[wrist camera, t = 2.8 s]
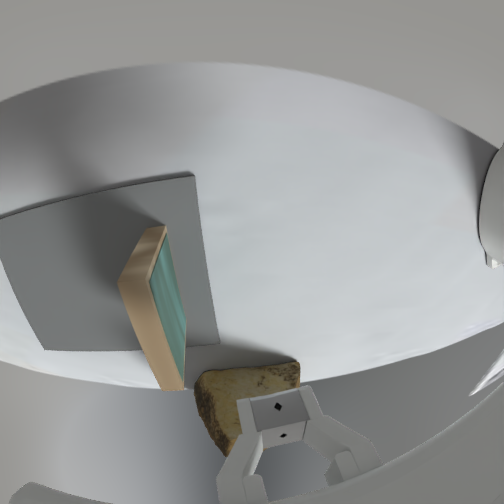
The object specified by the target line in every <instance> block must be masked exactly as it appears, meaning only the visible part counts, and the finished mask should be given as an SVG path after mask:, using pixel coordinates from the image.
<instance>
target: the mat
mask: <svg viewBox="0 0 504 504" xmlns="http://www.w3.org/2000/svg"><path fill="white" fill-rule="evenodd" d="M165 225H166V228H167V233H168V239H169V244H170V249H171V254H172V259H173V264H174V268H175V273H176V278H177V282H178V286H179V291H180V295H181V299H182V303H183V307H184V311H185V315H186V319H187V324H186V342H185V347H192V346H202V345H211V344H220V339H219V334H218V329H217V323H216V318H215V312H214V307H213V301H212V295H211V289H210V283H209V277H208V270H207V264H206V258H205V251H204V244H203V237H202V230H201V222H200V215H199V207H198V199H197V191H196V182H195V175H193V176H185V177H178V178H171V179H165V180H158V181H152V182H146V183H140V184H135V185H129V186H124V187H119V188H114V189H109V190H104V191H100V192H95V193H91V194H86V195H82V196H78V197H74V198H69V199H65V200H62V201H58V202H54V203H50V204H47V205H43V206H39V207H36V208H33V209H29V210H26V211H23V212H19V213H16V214H13V215H10V216H7V217H4V218H1V219H0V259H1V261H2V264H3V267H4V269H5V272H6V274H7V277H8V279H9V282H10V284H11V286H12V289H13V291H14V293H15V295H16V298H17V300H18V302H19V304H20V306H21V308H22V310H23V312H24V314H25V316H26V318H27V320H28V322H29V324H30V326H31V327H32V329H33V331H34V333H35V335H36V336H37V338H38V340H39V341H40V343H41V345H42V346H43V348H44V350H57V351H132V350H142V347H141V345H140V343H139V340H138V338H137V336H136V333H135V331H134V328H133V326H132V323H131V321H130V318H129V315H128V313H127V310H126V307H125V305H124V302H123V299H122V296H121V293H120V290H119V287H118V284H117V281H118V279H119V277H120V275H121V273H122V271H123V269H124V267H125V265H126V264H127V262H128V260H129V258H130V256H131V254H132V252H133V251H134V249H135V247H136V245H137V243H138V242H139V240H140V238H141V236H142V235H143V233H144V231H145V230H146V228H151V227H158V226H165Z"/></svg>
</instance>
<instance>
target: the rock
mask: <svg viewBox="0 0 504 504" xmlns="http://www.w3.org/2000/svg"><path fill="white" fill-rule="evenodd" d="M299 387H300V364H299V362H290V363H285V364H279V365H269V366H262V367H254V368H248V367H247V368H238V369H227V370H222V371H217V370H212V371H207V372H204V373H203V374H202V375H201V376H200V378H199V379H198V381H197V382H196V383H195V387H194V396H195V399H196V404H197V408H198V413H199V416H200V417H201V418H202V420H203V422H204V424H205V427H206V428H207V430H208V433H209V435H210V437H211V438H212V440H214V442H215V445H216V446H217V447H218V448H219V449H220V450H221V451H222V453H223V455H224V456H225V457H228V455H229V453H230V452H231V450H232V448H233V446H234V444H235V442H236V440H237V438H238V436H239V435H241V434H243V433H242V428H241V423H240V418H239V413H238V408H237V401H236V400H239V399H245V398H252V397H258V396H264V395H269V394H273V393H278V392H282V391H286V390H290V389H294V388H299ZM265 449H267V448H264V449H263V451H264V450H265Z"/></svg>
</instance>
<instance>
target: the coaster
mask: <svg viewBox="0 0 504 504" xmlns="http://www.w3.org/2000/svg"><path fill="white" fill-rule="evenodd" d="M117 284H118V287H119V290H120V293H121V296H122V299H123V302H124V305H125V307H126V310H127V313H128V315H129V318H130V321H131V323H132V326H133V328H134V331H135V333H136V336H137V338H138V340H139V343H140V345H141V347H142V350H143V352H144V354H145V356H146V359H147V361H148V363H149V365H150V367H151V369H152V371H153V374H154V376H155V378H156V380H157V382H158V384H159V386H160V388H161V390H162V391H173V390H175V391H176V390H184V366H185V342H186V324H187V319H186V315H185V311H184V307H183V303H182V299H181V295H180V291H179V286H178V282H177V278H176V273H175V268H174V264H173V259H172V254H171V249H170V244H169V239H168V233H167V228H166V225H165V226H158V227H151V228H146V230H145V231H144V233H143V235H142V236H141V238H140V240H139V242H138V243H137V245H136V247H135V249H134V251H133V252H132V254H131V256H130V258H129V260H128V262H127V264H126V265H125V267H124V269H123V271H122V273H121V275H120V277H119V279H118V281H117Z"/></svg>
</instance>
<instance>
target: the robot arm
mask: <svg viewBox="0 0 504 504" xmlns="http://www.w3.org/2000/svg"><path fill="white" fill-rule="evenodd" d="M479 232H480V239H481V243H482V246H483V248H484V249H485V251H486V254H487V266H488V267H489V268H491V269H495V268H497V267H498V266H499V265H503V266H504V143H503V146H502V147H501V148H500V150H499V151H498V152H497V153H496V155H495V157H494V158H493V160H492V163H491V165H490V167H489V170H488V173H487V176H486V180H485V184H484V188H483V193H482V198H481V205H480V215H479ZM236 401H237V408H238V413H239V418H240V423H241V428H242V433H243V434H241V435H239V436H238V438H237V440H236V442H235V444H234V446H233V448H232V450H231V452H230V453H229V455H228V457H227V459H226V461H225V463H224V465H223V467H222V469H221V470H220V472H219V474H218V476H217V478H216V483H217V489H218V496H219V502H220V504H504V382H502V383H501V384H500V385H499V386H498V387H497V388H496V389H495V390H494V391H493V392H492V393H491V394H489V395H488V396H487V397H486V398H485V399H484V400H483V401H481V402H480V403H479V404H478V405H477V406H475V407H474V408H473V409H472V410H471V411H469V412H468V413H467V414H465V415H464V416H463V417H461V418H460V419H459V420H457V421H456V422H455V423H453V424H452V425H451V426H449V427H448V428H446V429H445V430H443V431H442V432H440V433H439V434H437V435H436V436H434V437H433V438H431V439H429V440H428V441H426V442H425V443H423V444H421V445H419V446H418V447H416V448H414V449H413V450H411V451H409V452H407V453H405V454H404V455H402V456H400V457H398V458H396V459H394V460H392V461H390V462H388V463H386V464H384V465H383V463H382V461H381V459H380V457H379V455H378V453H377V452H376V450H375V448H374V446H373V444H372V442H371V440H369V439H367V438H365V437H364V436H362V435H360V434H358V433H357V432H355V431H353V430H351V429H350V428H348V427H346V426H344V425H343V424H341V423H339V422H338V421H336V420H334V419H333V418H331V417H329V416H328V415H326V416H324V415H323V413H322V411H321V409H320V407H319V404H318V402H317V400H316V397H315V395H314V393H313V391H312V389H311V387H310V386H309V385H307V386H304V387H300V388H294V389H290V390H286V391H282V392H278V393H273V394H269V395H264V396H258V397H252V398H245V399H239V400H236ZM300 440H303V441H304V442H305V443H306V444H308V445H309V446H310V447H311V448H313V449H314V450H315V451H317V452H318V453H319V454H321V455H322V456H323V457H325V458H326V459H327V460H329V461H330V462H331V464H330V466H329V468H328V469H327V471H326V473H325V474H324V475H325V478H326V481H327V483H328V486H329V487H326V488H323V489H320V490H316V491H313V492H309V493H306V494H302V495H298V496H294V497H291V498H286V499H282V500H277V501H272V502H268V499H267V495H266V491H265V488H264V484H263V480H262V477H261V476H259V475H257V474H255V475H253V473H254V471H255V469H256V466H257V464H258V461H259V459H260V456H261V454H262V451H263V449H264V448H269V447H273V446H277V445H281V444H286V443H291V442H295V441H300ZM9 504H111V503H105V502H100V501H96V500H91V499H87V498H82V497H79V496H75V495H71V494H67V493H64V492H61V491H58V490H55V489H52V488H49V487H46V486H43V485H40V484H38V483H34V482H29V483H27V484H25V485H24V486H23V487H22V488H20V489H19V490H18V491H17V492H16V493H15V494H13V495H12V497H11V499H10V501H9Z"/></svg>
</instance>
